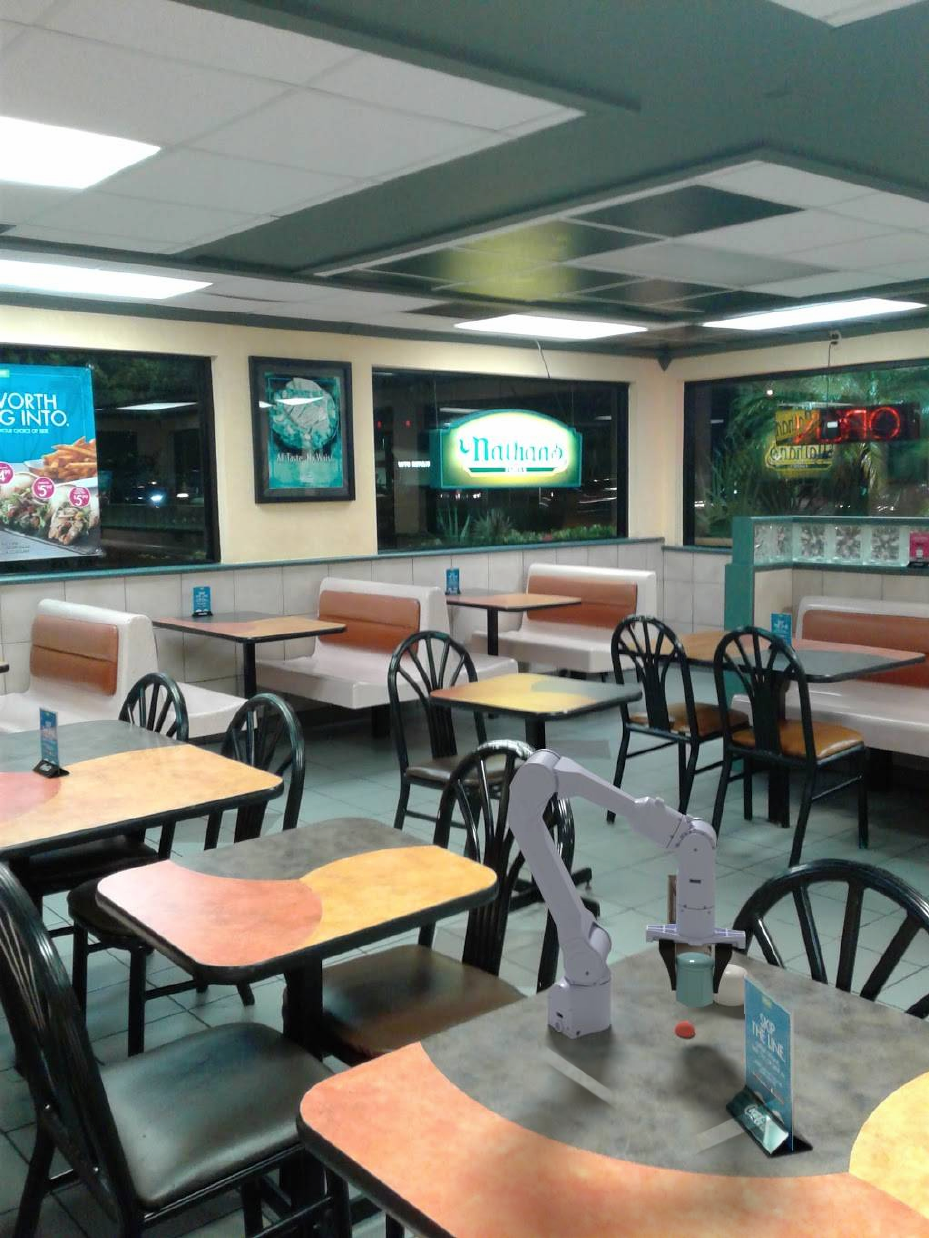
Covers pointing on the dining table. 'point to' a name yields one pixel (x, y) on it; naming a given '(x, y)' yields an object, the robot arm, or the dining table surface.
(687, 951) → the coffee box
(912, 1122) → the dining table surface
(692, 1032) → the red ball
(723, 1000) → the white rounded cylinder
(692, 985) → the teal octagonal canister
